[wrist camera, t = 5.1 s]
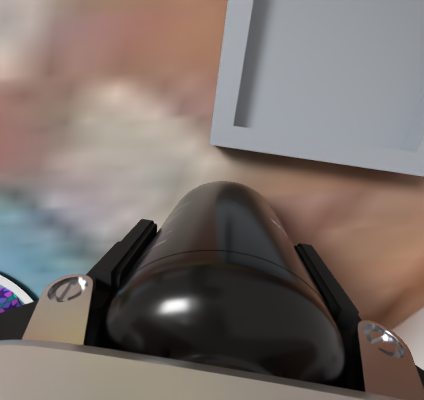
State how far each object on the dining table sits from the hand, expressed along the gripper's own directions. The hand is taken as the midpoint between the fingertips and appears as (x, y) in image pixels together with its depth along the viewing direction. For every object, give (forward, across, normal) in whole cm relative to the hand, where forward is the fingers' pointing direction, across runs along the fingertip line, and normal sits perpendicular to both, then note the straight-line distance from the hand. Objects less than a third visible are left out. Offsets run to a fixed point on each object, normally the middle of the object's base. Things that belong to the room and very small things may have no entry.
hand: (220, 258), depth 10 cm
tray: (+6, -5, -12) cm, 14 cm away
